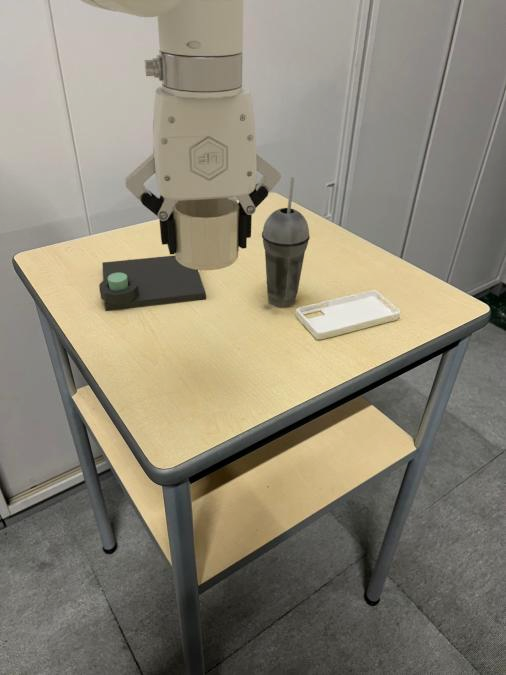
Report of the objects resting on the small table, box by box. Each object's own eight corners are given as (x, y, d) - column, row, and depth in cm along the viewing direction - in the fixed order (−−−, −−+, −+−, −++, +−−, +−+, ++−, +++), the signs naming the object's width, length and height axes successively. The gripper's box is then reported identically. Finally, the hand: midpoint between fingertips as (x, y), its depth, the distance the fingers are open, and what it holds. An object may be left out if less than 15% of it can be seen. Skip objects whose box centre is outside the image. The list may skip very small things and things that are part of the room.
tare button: (109, 292, 81) (107, 282, 79) (108, 283, 83) (107, 273, 82) (129, 290, 81) (127, 280, 80) (127, 281, 83) (126, 271, 82)
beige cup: (179, 273, 56) (176, 221, 52) (171, 244, 61) (168, 195, 58) (244, 267, 57) (245, 216, 54) (231, 239, 63) (231, 191, 59)
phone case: (317, 341, 76) (401, 319, 81) (318, 333, 75) (402, 311, 80) (294, 315, 81) (373, 296, 86) (294, 307, 80) (375, 289, 85)
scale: (102, 312, 81) (99, 296, 79) (100, 268, 92) (98, 253, 90) (206, 300, 84) (206, 284, 82) (192, 259, 95) (191, 244, 94)
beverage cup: (251, 304, 83) (254, 183, 72) (271, 284, 89) (277, 168, 77) (292, 317, 81) (302, 193, 69) (310, 295, 86) (322, 176, 74)
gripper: (106, 82, 43) (130, 269, 54) (303, 79, 47) (289, 254, 58) (105, 67, 49) (126, 238, 60) (280, 65, 53) (271, 227, 63)
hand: (206, 245), depth 59 cm, fingers closed on beige cup, 7 cm apart
